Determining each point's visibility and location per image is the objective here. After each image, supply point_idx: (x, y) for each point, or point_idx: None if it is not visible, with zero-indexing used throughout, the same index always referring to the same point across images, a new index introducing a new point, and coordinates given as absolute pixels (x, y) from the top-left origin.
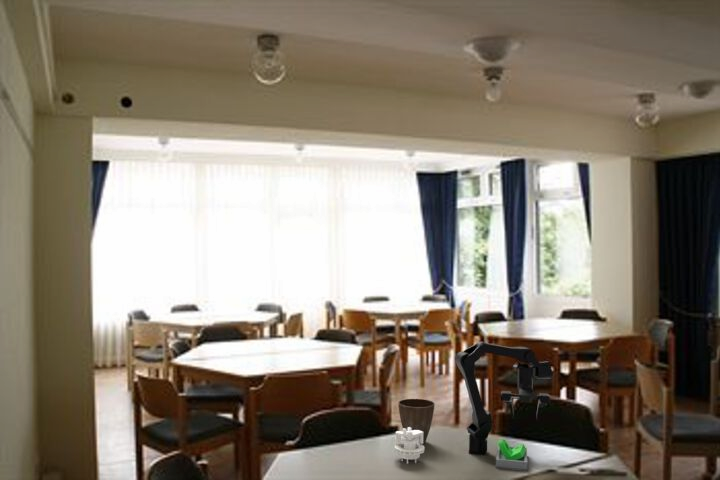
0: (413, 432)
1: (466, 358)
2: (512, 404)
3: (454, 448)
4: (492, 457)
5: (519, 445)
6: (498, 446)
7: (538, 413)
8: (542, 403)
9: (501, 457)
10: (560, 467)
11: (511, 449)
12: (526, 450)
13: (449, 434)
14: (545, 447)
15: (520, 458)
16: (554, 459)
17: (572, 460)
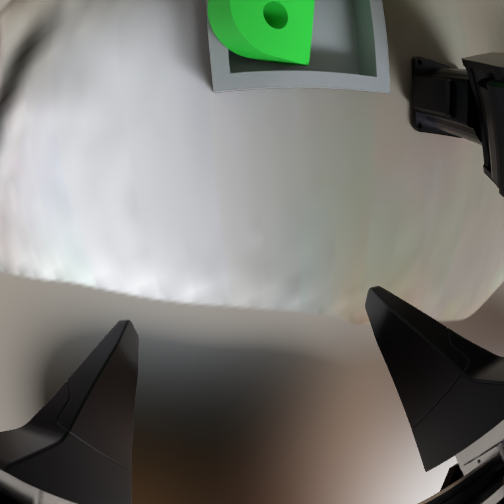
0: None
1: None
2: (413, 422)
3: None
4: None
5: (262, 47)
6: (383, 72)
7: (87, 369)
8: (5, 472)
9: (343, 6)
10: (51, 15)
11: (307, 60)
12: (209, 35)
13: (475, 269)
14: (144, 262)
15: None
16: (73, 102)
17: (15, 136)
